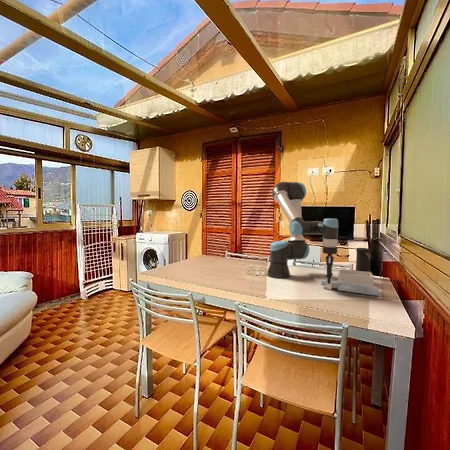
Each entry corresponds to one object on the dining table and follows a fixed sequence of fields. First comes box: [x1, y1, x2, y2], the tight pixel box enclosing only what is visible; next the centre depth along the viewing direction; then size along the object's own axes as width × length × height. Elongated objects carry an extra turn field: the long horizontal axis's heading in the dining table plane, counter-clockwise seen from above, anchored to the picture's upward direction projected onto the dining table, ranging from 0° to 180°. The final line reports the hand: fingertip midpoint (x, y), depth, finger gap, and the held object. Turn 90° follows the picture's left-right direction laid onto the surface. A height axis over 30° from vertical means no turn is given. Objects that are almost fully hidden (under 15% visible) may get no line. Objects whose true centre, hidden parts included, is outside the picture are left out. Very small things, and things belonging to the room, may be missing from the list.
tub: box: [337, 268, 375, 286], centre depth 149 cm, size 18×12×7 cm, turn 66°
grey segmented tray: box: [320, 278, 381, 297], centre depth 134 cm, size 28×13×2 cm, turn 66°
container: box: [355, 247, 372, 272], centre depth 164 cm, size 9×9×20 cm
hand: (328, 287), depth 139 cm, fingers open, 5 cm apart
